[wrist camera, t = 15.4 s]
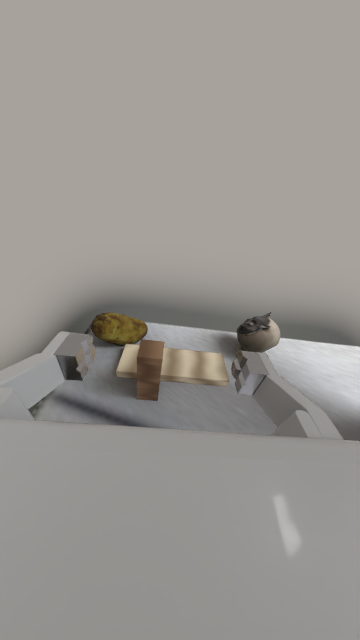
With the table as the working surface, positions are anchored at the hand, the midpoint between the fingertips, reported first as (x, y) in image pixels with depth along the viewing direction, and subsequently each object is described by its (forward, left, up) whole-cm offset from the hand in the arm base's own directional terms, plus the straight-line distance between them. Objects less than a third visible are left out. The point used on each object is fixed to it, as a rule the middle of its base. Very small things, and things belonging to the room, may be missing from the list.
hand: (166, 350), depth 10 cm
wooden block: (+2, -17, -26) cm, 31 cm away
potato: (+11, -27, -26) cm, 39 cm away
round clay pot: (-24, -28, -26) cm, 45 cm away
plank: (-3, -20, -26) cm, 33 cm away
